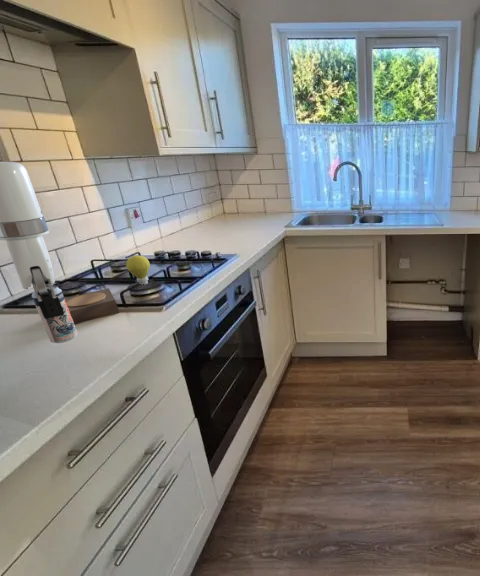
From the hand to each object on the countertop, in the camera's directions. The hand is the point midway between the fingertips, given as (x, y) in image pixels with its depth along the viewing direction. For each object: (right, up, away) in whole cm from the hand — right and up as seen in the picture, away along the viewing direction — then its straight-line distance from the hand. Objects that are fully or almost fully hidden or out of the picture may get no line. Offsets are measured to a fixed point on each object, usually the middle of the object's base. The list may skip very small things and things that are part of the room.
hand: (53, 311), depth 77 cm
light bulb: (-12, +6, +47) cm, 49 cm away
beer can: (0, -6, +3) cm, 7 cm away
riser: (-14, -2, +27) cm, 30 cm away
